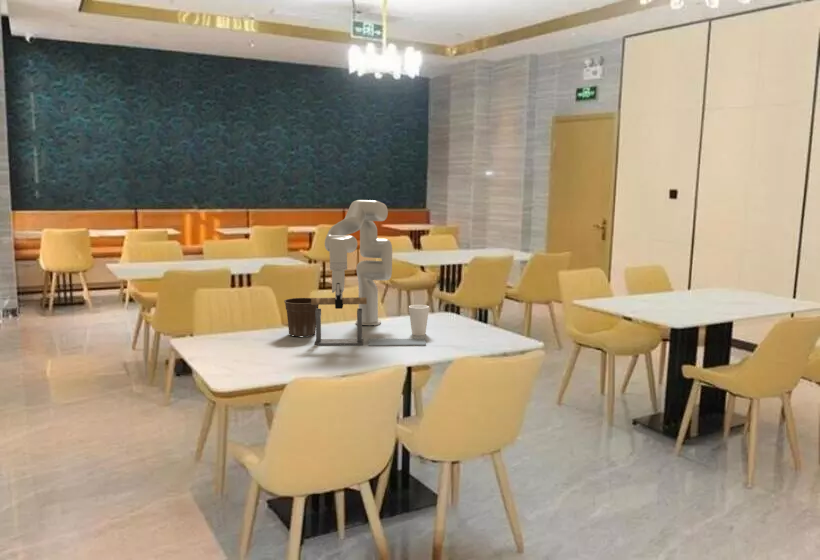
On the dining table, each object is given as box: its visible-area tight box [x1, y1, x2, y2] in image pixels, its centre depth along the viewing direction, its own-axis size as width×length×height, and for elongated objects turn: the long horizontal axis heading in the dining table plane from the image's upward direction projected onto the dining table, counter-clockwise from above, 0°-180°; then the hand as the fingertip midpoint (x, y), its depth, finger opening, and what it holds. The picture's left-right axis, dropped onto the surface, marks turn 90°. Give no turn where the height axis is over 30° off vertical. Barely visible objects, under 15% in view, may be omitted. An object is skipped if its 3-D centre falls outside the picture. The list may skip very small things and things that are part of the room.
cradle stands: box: [314, 307, 364, 346], centre depth 313 cm, size 8×21×15 cm, turn 92°
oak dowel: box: [310, 296, 367, 306], centre depth 312 cm, size 24×3×3 cm, turn 92°
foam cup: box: [408, 304, 430, 336], centre depth 333 cm, size 10×9×13 cm
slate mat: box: [368, 338, 427, 347], centre depth 315 cm, size 11×25×1 cm, turn 92°
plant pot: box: [284, 297, 319, 337], centre depth 330 cm, size 16×16×16 cm
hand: (339, 307), depth 313 cm, fingers closed on oak dowel, 3 cm apart
